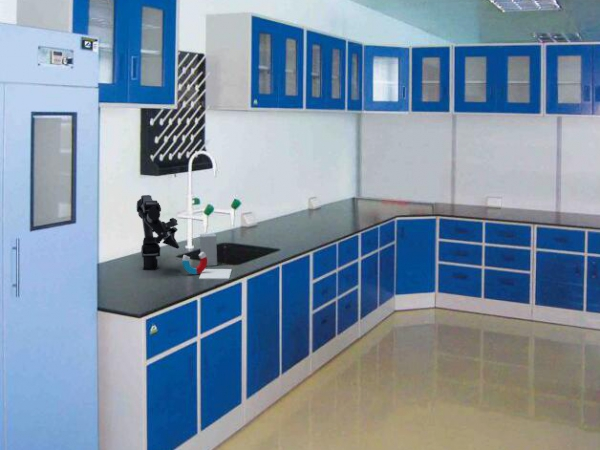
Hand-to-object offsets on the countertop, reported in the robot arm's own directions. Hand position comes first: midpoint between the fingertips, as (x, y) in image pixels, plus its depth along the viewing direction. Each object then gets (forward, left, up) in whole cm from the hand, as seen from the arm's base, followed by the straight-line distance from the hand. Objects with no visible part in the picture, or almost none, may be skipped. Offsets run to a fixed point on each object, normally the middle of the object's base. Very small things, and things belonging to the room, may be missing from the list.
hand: (178, 248), depth 369 cm
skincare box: (+12, +21, -13) cm, 27 cm away
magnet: (+9, -1, -12) cm, 15 cm away
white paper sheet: (+18, -1, -13) cm, 22 cm away
